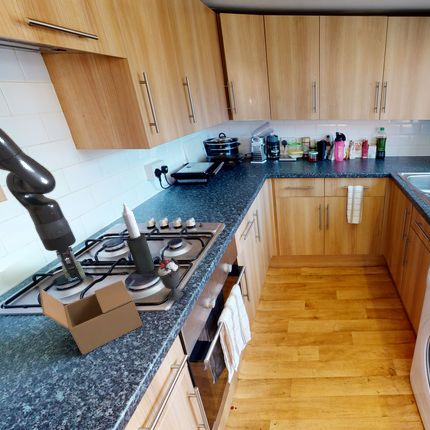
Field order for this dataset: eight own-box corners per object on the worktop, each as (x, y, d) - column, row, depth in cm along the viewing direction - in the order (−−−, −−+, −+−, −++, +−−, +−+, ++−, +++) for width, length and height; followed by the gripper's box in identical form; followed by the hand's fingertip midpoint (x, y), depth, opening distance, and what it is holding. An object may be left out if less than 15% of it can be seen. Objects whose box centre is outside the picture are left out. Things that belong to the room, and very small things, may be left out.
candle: (154, 270, 99) (133, 204, 88) (137, 275, 97) (113, 208, 86) (154, 263, 103) (133, 199, 92) (138, 267, 101) (115, 202, 90)
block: (69, 283, 93) (63, 272, 91) (67, 277, 96) (61, 266, 94) (86, 277, 96) (81, 266, 94) (83, 271, 99) (78, 260, 97)
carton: (83, 356, 68) (67, 327, 64) (76, 330, 76) (62, 303, 72) (143, 325, 77) (132, 299, 73) (131, 305, 84) (121, 279, 80)
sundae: (166, 307, 83) (152, 264, 76) (161, 295, 88) (148, 253, 81) (190, 298, 86) (178, 256, 80) (184, 286, 91) (173, 246, 85)
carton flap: (68, 327, 65) (66, 328, 64) (63, 303, 72) (61, 304, 71) (44, 312, 61) (42, 313, 60) (41, 288, 68) (39, 289, 67)
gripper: (37, 228, 91) (59, 272, 98) (40, 245, 82) (64, 291, 89) (67, 221, 96) (86, 263, 103) (73, 235, 86) (93, 280, 94)
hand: (76, 276), depth 96 cm, fingers open, 5 cm apart
